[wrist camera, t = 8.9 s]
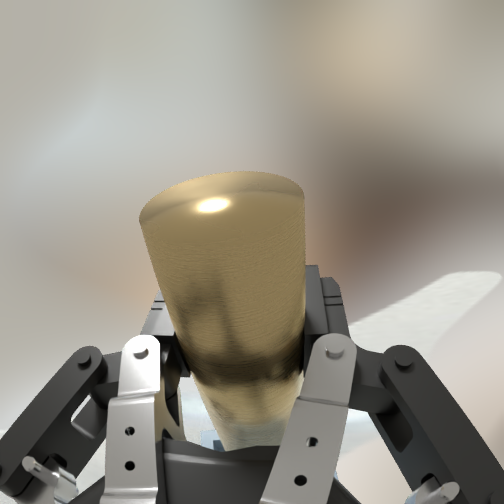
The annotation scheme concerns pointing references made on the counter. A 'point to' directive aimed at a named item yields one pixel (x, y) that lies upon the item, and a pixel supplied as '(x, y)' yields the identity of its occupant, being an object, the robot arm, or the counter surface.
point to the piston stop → (235, 295)
